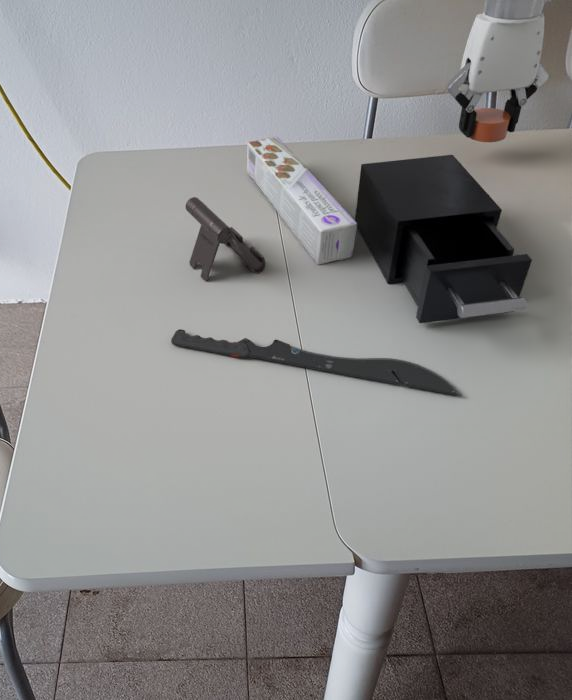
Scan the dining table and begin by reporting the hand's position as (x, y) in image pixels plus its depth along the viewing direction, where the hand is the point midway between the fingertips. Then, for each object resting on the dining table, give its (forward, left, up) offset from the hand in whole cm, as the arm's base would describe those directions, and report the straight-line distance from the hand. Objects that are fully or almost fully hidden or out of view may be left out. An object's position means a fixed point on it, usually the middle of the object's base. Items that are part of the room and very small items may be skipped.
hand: (486, 130), depth 101 cm
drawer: (+19, +33, -4) cm, 38 cm away
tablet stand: (+45, +21, -5) cm, 49 cm away
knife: (+38, +41, -5) cm, 55 cm away
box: (+32, +9, -5) cm, 34 cm away
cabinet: (+19, +22, -5) cm, 29 cm away
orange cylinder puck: (0, 0, -1) cm, 1 cm away
